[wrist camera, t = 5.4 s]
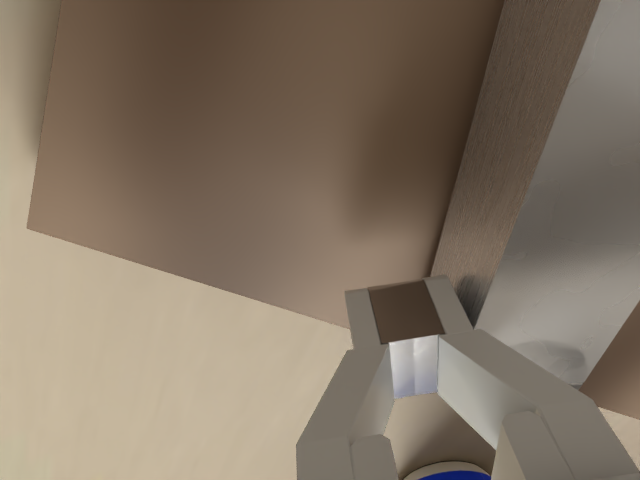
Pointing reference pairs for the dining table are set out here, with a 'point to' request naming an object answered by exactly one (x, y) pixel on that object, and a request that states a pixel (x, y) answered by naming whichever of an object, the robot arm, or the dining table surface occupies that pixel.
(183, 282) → the dining table surface
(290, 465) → the dining table surface
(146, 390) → the dining table surface
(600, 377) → the walnut base plate
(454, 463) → the beverage can
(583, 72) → the steel link
